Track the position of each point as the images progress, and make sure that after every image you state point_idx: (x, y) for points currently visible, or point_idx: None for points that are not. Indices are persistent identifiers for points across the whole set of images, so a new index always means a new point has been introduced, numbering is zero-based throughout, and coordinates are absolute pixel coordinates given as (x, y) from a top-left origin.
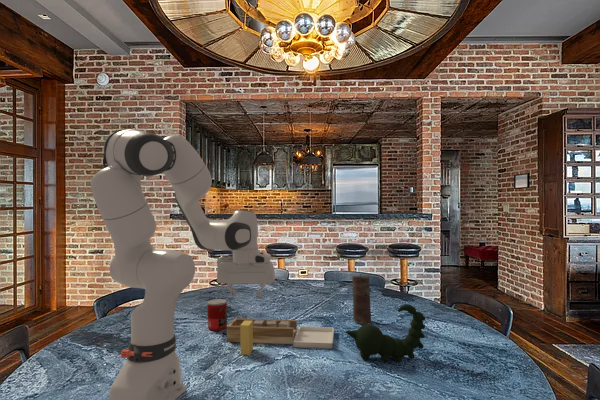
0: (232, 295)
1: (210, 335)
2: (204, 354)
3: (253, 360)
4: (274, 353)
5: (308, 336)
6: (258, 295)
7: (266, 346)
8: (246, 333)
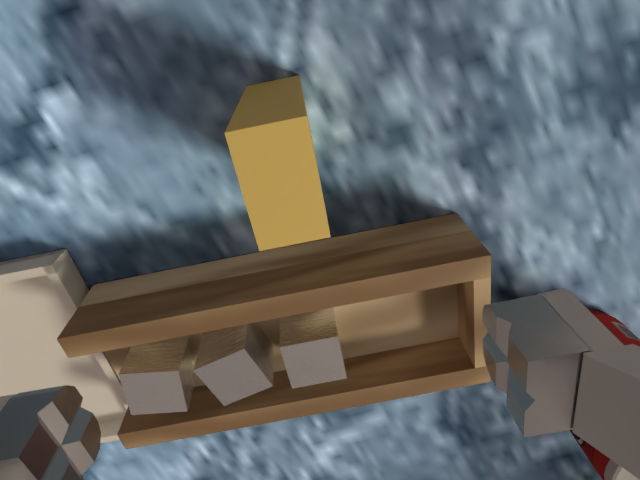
0: (525, 300)
1: (577, 256)
2: (522, 7)
3: (178, 18)
4: (116, 151)
5: (64, 372)
6: (22, 403)
7: (213, 220)
8: (252, 111)
